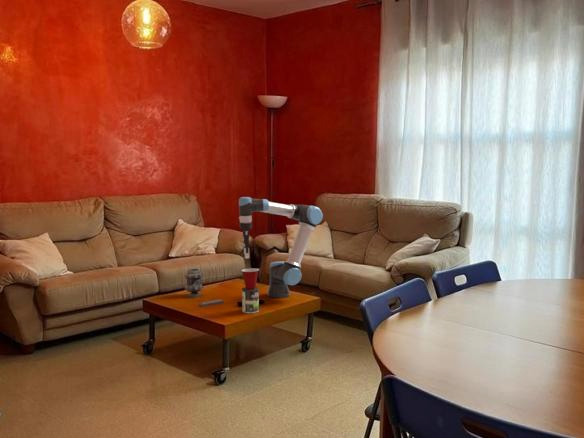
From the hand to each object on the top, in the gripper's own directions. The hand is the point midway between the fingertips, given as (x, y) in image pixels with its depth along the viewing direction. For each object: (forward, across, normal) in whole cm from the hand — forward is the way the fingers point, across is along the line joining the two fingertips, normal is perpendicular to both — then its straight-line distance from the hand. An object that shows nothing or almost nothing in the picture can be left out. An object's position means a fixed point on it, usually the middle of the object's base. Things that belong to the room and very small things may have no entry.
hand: (246, 256), depth 342 cm
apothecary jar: (+32, -32, -35) cm, 57 cm away
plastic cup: (+18, +10, +1) cm, 21 cm away
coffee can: (+32, +10, +1) cm, 34 cm away
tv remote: (+32, -9, -23) cm, 41 cm away
